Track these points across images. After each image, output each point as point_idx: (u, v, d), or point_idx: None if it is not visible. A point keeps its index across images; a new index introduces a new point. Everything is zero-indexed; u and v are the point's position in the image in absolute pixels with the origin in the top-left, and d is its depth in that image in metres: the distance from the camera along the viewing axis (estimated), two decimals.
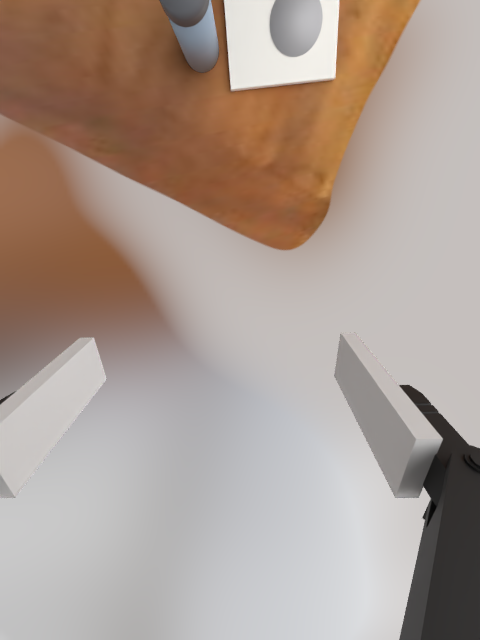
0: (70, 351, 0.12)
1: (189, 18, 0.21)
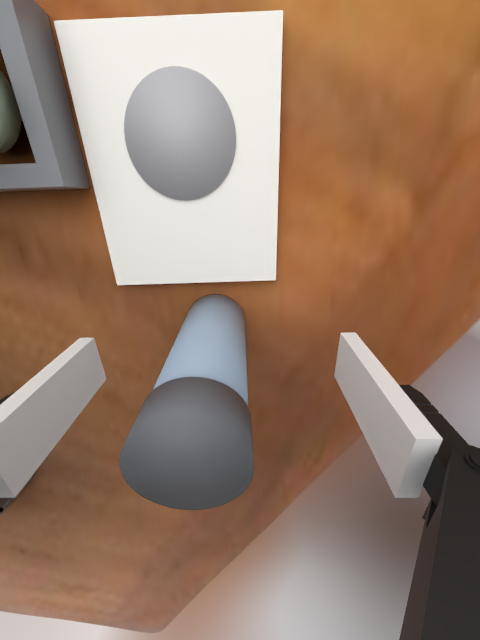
0: (70, 351, 0.12)
1: (251, 437, 0.09)
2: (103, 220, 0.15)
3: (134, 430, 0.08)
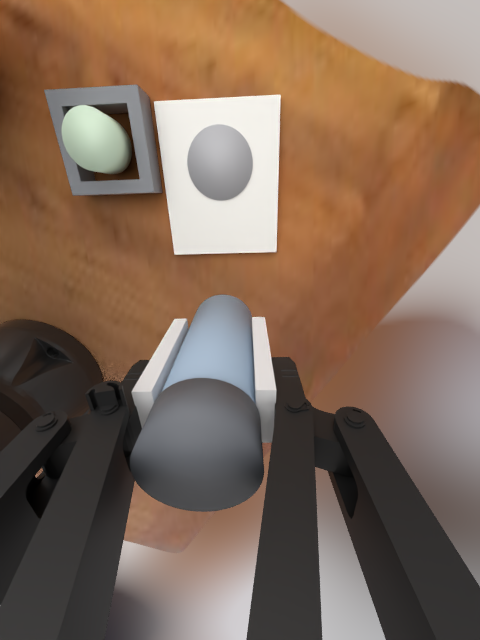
0: (174, 329, 0.14)
1: (261, 439, 0.09)
2: (170, 212, 0.24)
3: (145, 431, 0.08)
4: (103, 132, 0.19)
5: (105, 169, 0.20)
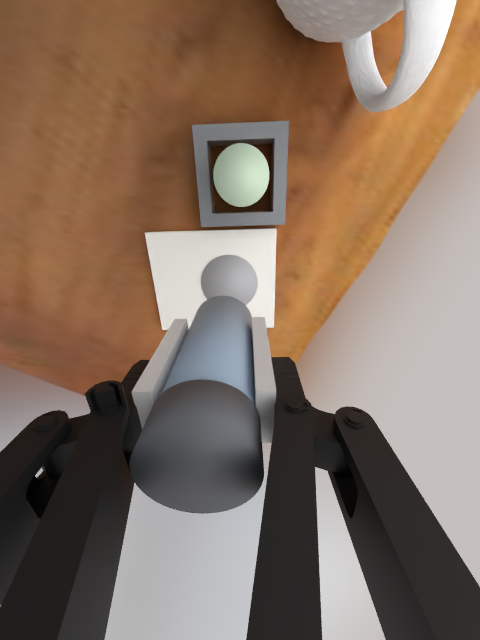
0: (174, 329, 0.14)
1: (261, 441, 0.09)
2: (186, 232, 0.24)
3: (145, 433, 0.08)
4: (246, 194, 0.19)
5: None
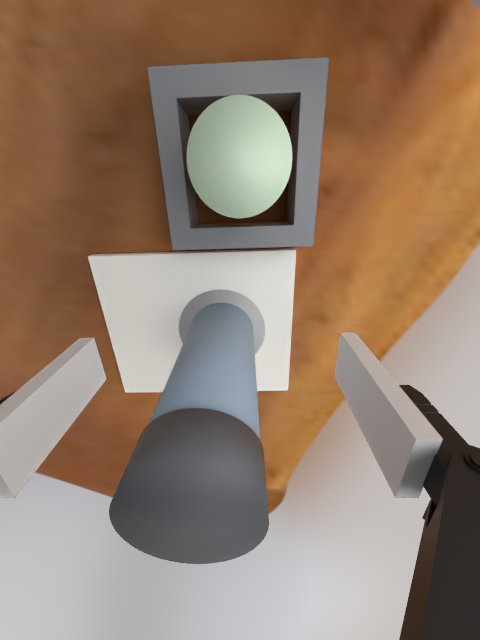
0: (69, 351, 0.12)
1: (265, 480, 0.08)
2: (153, 256, 0.15)
3: (126, 478, 0.07)
4: (249, 194, 0.10)
5: (192, 182, 0.10)
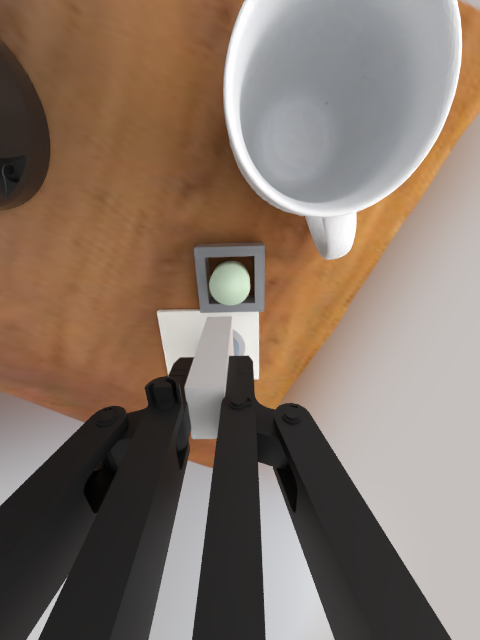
0: (209, 326, 0.14)
1: None
2: (188, 311, 0.31)
3: None
4: (234, 297, 0.26)
5: (211, 292, 0.26)
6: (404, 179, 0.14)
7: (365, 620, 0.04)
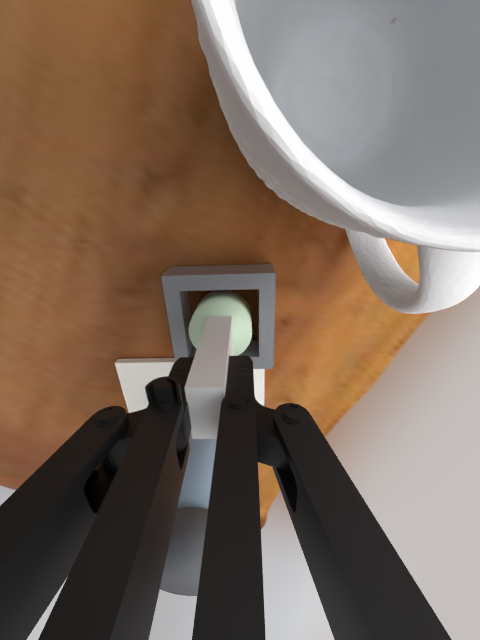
0: (209, 326, 0.14)
1: None
2: (161, 363, 0.21)
3: None
4: None
5: None
6: None
7: (365, 620, 0.04)
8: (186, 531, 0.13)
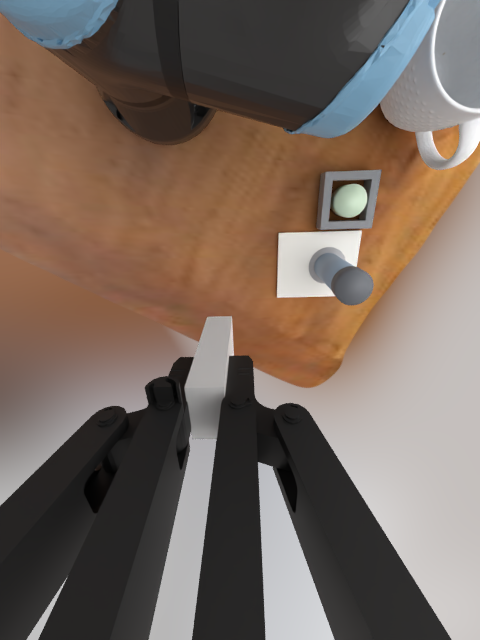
0: (209, 326, 0.14)
1: None
2: (305, 233, 0.38)
3: (343, 275, 0.30)
4: (353, 210, 0.34)
5: (335, 206, 0.34)
6: None
7: (365, 620, 0.04)
8: (354, 268, 0.30)
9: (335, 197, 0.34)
